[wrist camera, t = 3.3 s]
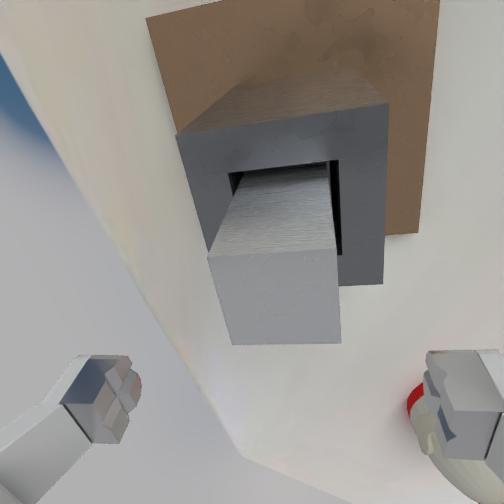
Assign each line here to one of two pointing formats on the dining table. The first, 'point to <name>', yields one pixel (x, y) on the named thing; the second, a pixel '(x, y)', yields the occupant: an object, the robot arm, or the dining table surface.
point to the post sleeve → (306, 107)
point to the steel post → (279, 258)
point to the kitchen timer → (454, 470)
